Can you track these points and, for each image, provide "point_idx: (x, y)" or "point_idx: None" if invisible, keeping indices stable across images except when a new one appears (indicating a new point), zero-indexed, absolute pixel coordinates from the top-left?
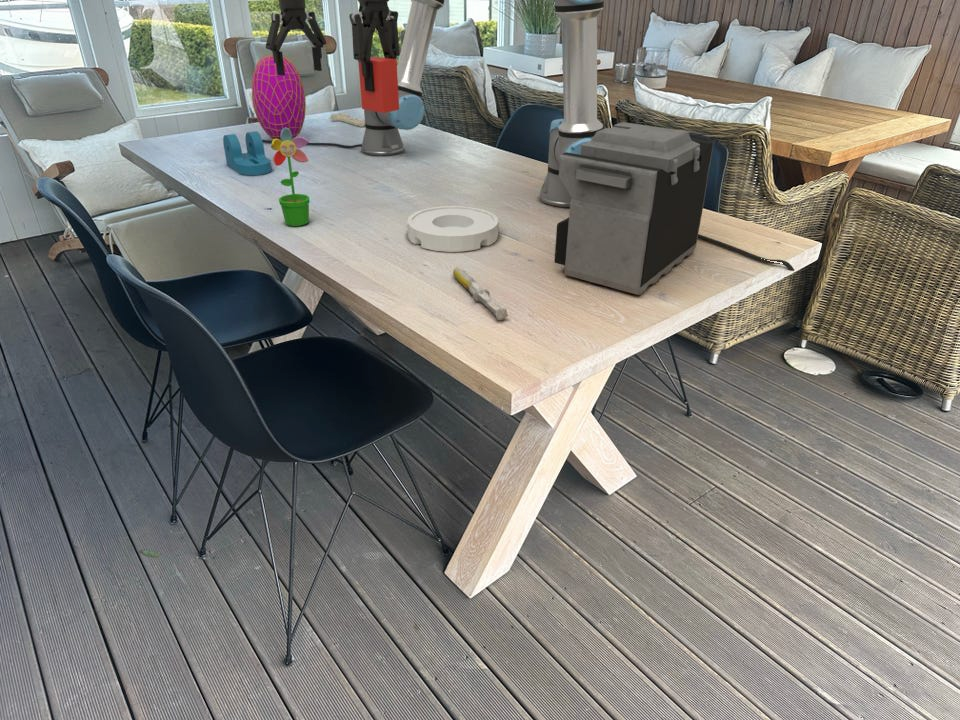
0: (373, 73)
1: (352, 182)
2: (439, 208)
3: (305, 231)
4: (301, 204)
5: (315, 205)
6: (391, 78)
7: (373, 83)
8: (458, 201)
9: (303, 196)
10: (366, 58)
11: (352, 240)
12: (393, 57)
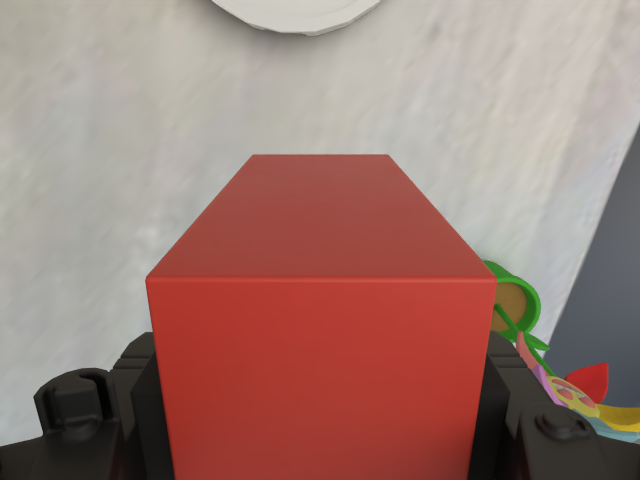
0: None
1: None
2: (239, 2)
3: (509, 229)
4: (510, 275)
5: None
6: (292, 205)
7: None
8: (77, 107)
9: None
10: (599, 443)
11: (492, 95)
12: (98, 395)
